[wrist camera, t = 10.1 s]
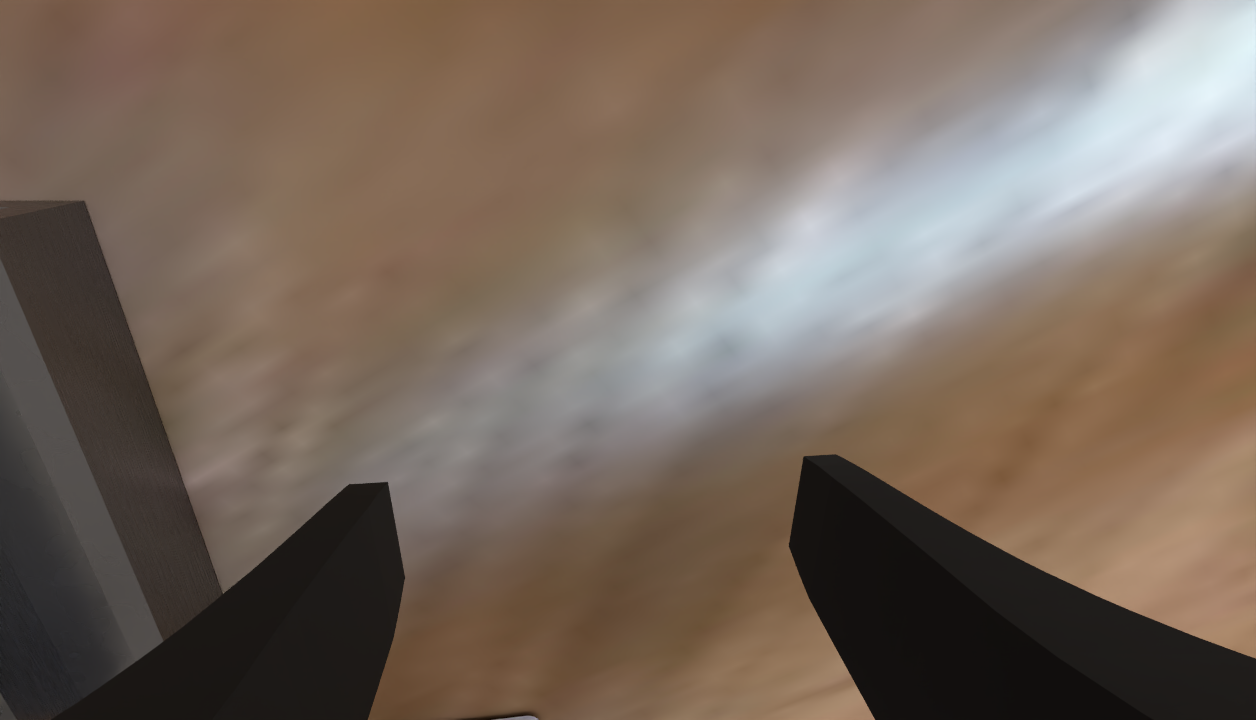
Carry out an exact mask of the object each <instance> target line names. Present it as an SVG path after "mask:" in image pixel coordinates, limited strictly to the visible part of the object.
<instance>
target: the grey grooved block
mask: <svg viewBox="0 0 1256 720" xmlns="http://www.w3.org/2000/svg"><path fill="white" fill-rule="evenodd" d="M221 595H222V592H221V589H220V587H219V584H218V581H217V578H216V575H215V572H214V570H213V567H212V564H211V561H210V558H209V555H208V553H207V550H206V547H205V544H204V541H203V538H202V536H201V533H200V530H199V527H198V524H197V521H196V519H195V516H194V513H193V510H192V507H191V504H190V502H189V499H188V496H187V493H186V490H185V487H184V485H183V482H182V479H181V476H180V473H179V470H178V468H177V465H176V462H175V459H174V456H173V453H172V451H171V448H170V445H169V442H168V439H167V436H166V434H165V431H164V428H163V425H162V422H161V419H160V417H159V414H158V411H157V408H156V405H155V402H154V399H153V397H152V394H151V391H150V388H149V385H148V382H147V380H146V377H145V374H144V371H143V368H142V365H141V363H140V360H139V357H138V354H137V351H136V348H135V346H134V343H133V340H132V337H131V334H130V331H129V329H128V326H127V323H126V320H125V317H124V314H123V312H122V309H121V306H120V303H119V300H118V297H117V295H116V292H115V289H114V286H113V283H112V280H111V278H110V275H109V272H108V269H107V266H106V263H105V261H104V258H103V255H102V252H101V249H100V246H99V244H98V241H97V238H96V235H95V232H94V229H93V226H92V224H91V221H90V218H89V215H88V212H87V209H86V207H85V204H84V201H0V720H51V719H52V718H54V717H55V716H57V715H59V714H60V713H62V712H63V711H65V710H66V709H68V708H69V707H71V706H73V705H74V704H76V703H77V702H79V701H80V700H82V699H83V698H85V697H86V696H88V695H89V694H90V693H92V692H93V691H95V690H96V689H98V688H99V687H101V686H102V685H103V684H105V683H106V682H108V681H109V680H111V679H112V678H113V677H115V676H116V675H118V674H119V673H120V672H122V671H123V670H125V669H126V668H128V667H129V666H130V665H132V664H133V663H135V662H136V661H137V660H139V659H140V658H142V657H143V656H144V655H146V654H147V653H149V652H150V651H151V650H153V649H154V648H155V647H157V646H158V645H159V644H161V643H162V642H163V641H165V640H166V639H167V638H169V637H170V636H171V635H173V634H174V633H175V632H177V631H178V630H179V629H181V628H182V627H183V626H184V625H186V624H187V623H188V622H189V621H191V620H192V619H193V618H194V617H196V616H197V615H198V614H199V613H200V612H202V611H203V610H204V609H205V608H207V607H208V606H209V605H210V604H212V603H213V602H214V601H215V600H216V599H218V598H219V597H220V596H221Z"/></svg>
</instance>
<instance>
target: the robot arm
mask: <svg viewBox="0 0 1256 720" xmlns="http://www.w3.org/2000/svg"><path fill="white" fill-rule="evenodd" d="M789 548H790V550H791V553H792V556H793V558H794V561H795V564H796V566H797V569H798V572H799V575H800V577H801V579H802V582H803V584H804V587H805V589H806V592H807V594H808V597H809V599H810V601H811V603H812V605H813V606H814V608H815V610H816V612H817V614H818V616H819V618H820V620H821V621H822V623H823V625H824V627H825V629H826V631H827V633H828V634H829V636H830V638H831V640H832V642H833V644H834V645H835V647H836V649H837V651H838V653H839V655H840V656H841V658H842V660H843V662H844V664H845V666H846V667H847V669H848V671H849V673H850V675H851V676H852V678H853V680H854V682H855V684H856V686H857V687H858V689H859V691H860V693H861V695H862V696H863V698H864V700H865V702H866V704H867V706H868V707H869V709H870V711H871V713H872V715H873V717H874V718H875V720H1256V659H1255V658H1252V657H1250V656H1247V655H1244V654H1241V653H1238V652H1236V651H1233V650H1230V649H1227V648H1225V647H1222V646H1219V645H1217V644H1214V643H1211V642H1208V641H1206V640H1203V639H1200V638H1198V637H1195V636H1192V635H1190V634H1187V633H1185V632H1182V631H1180V630H1177V629H1175V628H1172V627H1170V626H1167V625H1165V624H1162V623H1160V622H1157V621H1155V620H1152V619H1150V618H1147V617H1145V616H1142V615H1140V614H1138V613H1135V612H1133V611H1130V610H1128V609H1125V608H1123V607H1121V606H1118V605H1116V604H1114V603H1111V602H1109V601H1107V600H1105V599H1102V598H1100V597H1098V596H1095V595H1093V594H1091V593H1089V592H1087V591H1085V590H1083V589H1080V588H1078V587H1076V586H1074V585H1072V584H1070V583H1068V582H1065V581H1063V580H1061V579H1059V578H1057V577H1055V576H1053V575H1050V574H1048V573H1046V572H1044V571H1042V570H1040V569H1038V568H1036V567H1034V566H1032V565H1030V564H1028V563H1026V562H1024V561H1022V560H1020V559H1018V558H1016V557H1014V556H1012V555H1011V554H1009V553H1007V552H1005V551H1003V550H1001V549H999V548H998V547H996V546H994V545H992V544H990V543H988V542H986V541H984V540H983V539H981V538H979V537H977V536H975V535H973V534H972V533H970V532H968V531H966V530H965V529H963V528H961V527H959V526H958V525H956V524H954V523H952V522H951V521H949V520H947V519H945V518H944V517H942V516H940V515H939V514H937V513H935V512H933V511H932V510H930V509H928V508H927V507H925V506H923V505H922V504H920V503H918V502H917V501H915V500H913V499H912V498H910V497H908V496H907V495H905V494H903V493H902V492H900V491H898V490H897V489H895V488H894V487H892V486H890V485H889V484H887V483H885V482H884V481H882V480H880V479H879V478H877V477H875V476H874V475H872V474H870V473H869V472H867V471H865V470H864V469H862V468H860V467H858V466H857V465H855V464H853V463H851V462H849V461H848V460H846V459H844V458H842V457H840V456H838V455H836V454H835V455H819V456H804V458H803V464H802V470H801V476H800V482H799V488H798V494H797V500H796V506H795V512H794V518H793V524H792V530H791V536H790V542H789ZM404 580H405V575H404V569H403V564H402V558H401V553H400V547H399V542H398V536H397V531H396V525H395V519H394V514H393V508H392V503H391V497H390V492H389V486H388V482H381V483H365V484H349V485H348V486H347V487H345V488H344V489H343V490H342V491H341V492H339V493H338V494H337V495H336V496H335V497H334V498H333V499H332V500H330V501H329V502H328V503H327V504H326V505H325V506H324V507H323V508H322V509H320V510H319V511H318V512H317V513H316V514H315V515H314V516H313V517H312V518H311V519H309V520H308V521H307V522H306V523H305V524H304V525H303V526H302V527H301V528H300V529H298V530H297V531H296V532H295V533H294V534H293V535H292V536H291V537H289V538H288V539H287V540H286V541H285V542H284V543H283V544H282V545H280V546H279V547H278V548H277V549H276V550H275V551H274V552H272V553H271V554H270V555H269V556H268V557H267V558H266V559H265V560H263V561H262V562H261V563H260V564H259V565H258V566H257V567H255V568H254V569H253V570H252V571H251V572H250V573H248V574H247V575H246V576H245V577H244V578H242V579H241V580H240V581H239V582H237V583H236V584H235V585H234V586H232V587H231V588H230V589H229V590H228V591H226V592H225V593H224V594H223V595H221V596H220V597H219V598H218V599H216V600H215V601H214V602H213V603H212V604H210V605H209V606H208V607H207V608H205V609H204V610H203V611H202V612H200V613H199V614H198V615H197V616H196V617H194V618H193V619H192V620H191V621H189V622H188V623H187V624H186V625H184V626H183V627H182V628H181V629H179V630H178V631H177V632H175V633H174V634H173V635H171V636H170V637H169V638H167V639H166V640H165V641H163V642H162V643H161V644H159V645H158V646H157V647H155V648H154V649H153V650H151V651H150V652H149V653H147V654H146V655H144V656H143V657H142V658H140V659H139V660H137V661H136V662H135V663H133V664H132V665H130V666H129V667H128V668H126V669H125V670H123V671H122V672H120V673H119V674H118V675H116V676H115V677H113V678H112V679H111V680H109V681H108V682H106V683H105V684H103V685H102V686H101V687H99V688H98V689H96V690H95V691H93V692H92V693H90V694H89V695H88V696H86V697H85V698H83V699H82V700H80V701H79V702H77V703H76V704H74V705H73V706H71V707H69V708H68V709H66V710H65V711H63V712H62V713H60V714H59V715H57V716H55V717H54V718H52V719H51V720H368V717H369V714H370V710H371V707H372V704H373V701H374V698H375V695H376V692H377V689H378V686H379V682H380V679H381V676H382V673H383V670H384V667H385V663H386V660H387V657H388V654H389V651H390V647H391V644H392V641H393V638H394V633H395V628H396V623H397V618H398V613H399V608H400V602H401V597H402V591H403V585H404ZM493 720H538V719H537V718H536V717H534V716H520V717H511V718H502V719H493Z"/></svg>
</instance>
